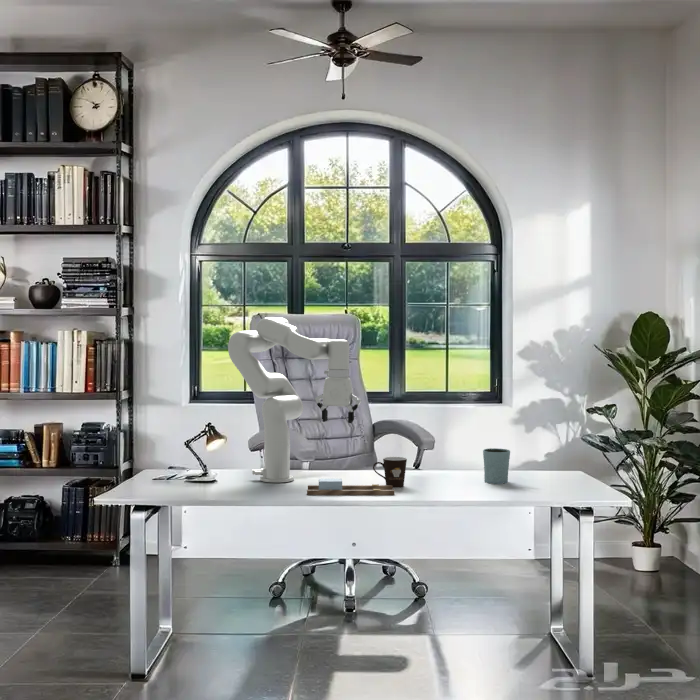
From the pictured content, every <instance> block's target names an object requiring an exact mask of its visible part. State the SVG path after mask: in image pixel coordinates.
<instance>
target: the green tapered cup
mask: <svg viewBox="0 0 700 700" xmlns="http://www.w3.org/2000/svg"><path fill="white" fill-rule="evenodd" d="M482 456H483V466H484V467H483V469H484V471H483V472H484V475H483V476H484V477H483V479H484V483H486V482H487V483H486V484H490V483H493V484H492V485H503V484H502V483H505V484H508V483H507V482H508V481H509V466H510V459H511V457H510V456H511V450H510V449H506V448H491V447H490V448H484V449H483V450H482Z"/></svg>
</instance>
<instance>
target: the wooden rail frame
mask: <svg viewBox="0 0 700 700" xmlns="http://www.w3.org/2000/svg"><path fill="white" fill-rule="evenodd" d="M393 488H394V487H393V486H392V485H386V484H385V485H384V484H381V485H380V484H374V483H371V484H370V485H367V484H365V485H364V484H361V485H360V484H357V485H356V484H355V485H354V484H351V485H350V484H349V485H348V484H347V485H346V484H342V490H332V489H329V490H319V484H307V489H306V495H308V496H395V489H393Z"/></svg>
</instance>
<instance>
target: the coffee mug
mask: <svg viewBox="0 0 700 700" xmlns="http://www.w3.org/2000/svg"><path fill="white" fill-rule="evenodd" d="M407 460H408V458H407V457H403V456H402V457H401V456H385V457H383V458H382V461H383V462H381V461H377V462H374V463H373V466H372V469H373V471H374V472H375V473H376V474H377V475H378V476H379V477H381V478H383V479H384V480H385V485H392V486H393V488H403V487H404V485H405V477H406V470H407ZM378 464H379V465H381V466H382V467H383V470H384V471H383V472H384V475H382V474H381V473H379V472H378V471H376V468H375V466H376V465H378Z"/></svg>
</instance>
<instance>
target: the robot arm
mask: <svg viewBox="0 0 700 700" xmlns="http://www.w3.org/2000/svg"><path fill="white" fill-rule="evenodd" d="M277 345H278V346H280V347H283V348H286V350H288V351H289V352H290V353H291V354H293V355H295V356H298V357H300V358H303V359H306V360H310V361H312V360H314V361H316V360H317V361H318V360H327V369H326V370H324V371H323V374H324V375H326V376H327V377H325V379H324V383H323V389H322V390H323V391H322V392H323V393H322V394H320V395H317V396H316V397H315V398H314V400H315V403H316V406H317V407H318V408H319V409H320V410H321V420H322V422H323V423H324V422H328V420H329V419H328V415H329V413H328V409H327V408H329V407H343V408H344V407H346V408H347V409H348V412H347V415H348V416H347V423H348V424H352V423H353V422H354V420H355V411H356V410H357V409H358V408H359V407H360V404H361V403H362V398H359V397H358V396H356V395H354V393H353V384H352V379H351V378H350V343H349V341H348V340H346V339H331V338H309V337H307V336H304V335H301V334H300V330H299V329H298V328H297V327H296V326H294V325H292V324H290V322H289V321H288V320H287V318H284V317H280V316H279V317H275V316H266V317H263V318H261V319H260V320H259V321H257V323H256V325H255V330H241V331H240V330H239V331H237V332H235V333H233V334H232V335H231V336H230V337H229V340H228V343H227V350H228V351H227V352H228V356H229V359H230V361H231V362H232V363H233V365H234V366H235V367H236V369H237V370H238V371H239V373H240V375H241V376H242V377H243V380H244V381H245V382H246V385H248V387H249V388H250V391H252V393H253V395H255V397H256V398H258V399H265V400H264V402H262V406H261V415H262V419H263V425H264V427H263V429H264V432H263V433H264V437H263V438H264V441H263V442H264V452H263V453H264V459H263V461H264V464H263V465H264V467H263V468H260V469H255V468H254V469H253V468H252V472H251V473H252V475H253V476H254V475H255V476H259V475H260V477H259V481H260V482H264V483H276V484H277V483H288V482H293V481H294V480H295V477H294V476H293V475H291V461H290V460H291V459H290V458H291V438H290V437H291V432H290V427H289V425H288V422H287V421H291V420H296V419H298V418H299V417H301V416H302V414H303V411H304V404H303V401H302V399H301V397H300V396H299V394H298V392H297V391H296V390H295V388H294V386H293V385H292V384H291V382H290V381H289V379H288V378H287V377H286V376H285V375H284V374H281V373H279V372H269V371H267V370H266V369H265V367H264V366H263V365H262V363H261V362H260V360H259V359H258V358H257V357H256V356H254V355H253V354H252V353H255V354H256V353H262V352H263V353H264V352H266V351H268V350H270V349H272V348H273V347H275V346H277ZM321 400H322V402H321ZM354 401H355V403H354V405H353V402H354Z"/></svg>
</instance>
